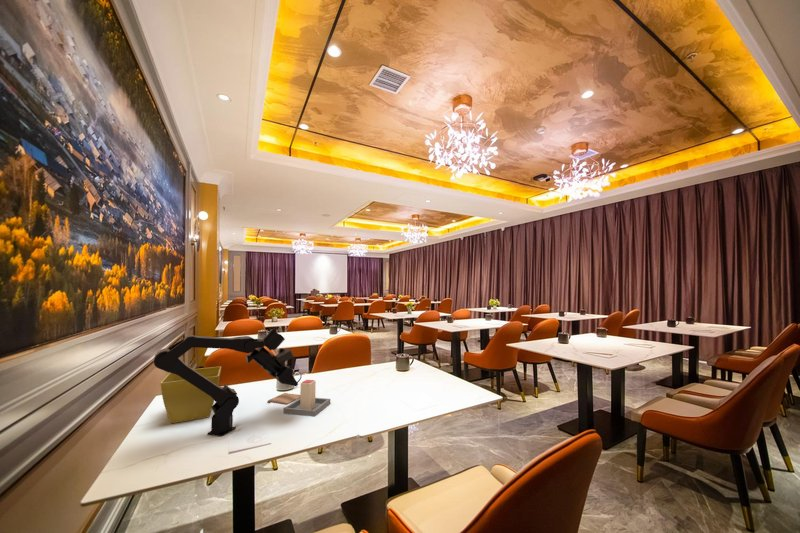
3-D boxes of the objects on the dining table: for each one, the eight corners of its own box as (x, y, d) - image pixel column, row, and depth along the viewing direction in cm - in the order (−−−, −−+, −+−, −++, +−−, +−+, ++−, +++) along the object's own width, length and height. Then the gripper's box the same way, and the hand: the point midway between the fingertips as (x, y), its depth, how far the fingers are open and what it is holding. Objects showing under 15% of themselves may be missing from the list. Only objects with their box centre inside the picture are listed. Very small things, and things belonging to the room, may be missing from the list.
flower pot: (168, 411, 130) (170, 371, 132) (220, 403, 139) (221, 365, 140) (157, 429, 113) (159, 383, 115) (217, 419, 122) (218, 375, 123)
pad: (287, 405, 135) (287, 403, 135) (267, 402, 139) (267, 400, 139) (303, 397, 145) (303, 395, 145) (284, 394, 149) (284, 392, 149)
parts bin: (314, 417, 122) (314, 411, 122) (283, 414, 125) (283, 408, 126) (330, 404, 136) (330, 398, 136) (302, 402, 139) (302, 396, 139)
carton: (309, 410, 128) (310, 383, 129) (300, 409, 129) (300, 382, 130) (315, 406, 132) (315, 379, 133) (305, 405, 133) (306, 379, 134)
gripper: (288, 346, 118) (315, 370, 124) (274, 340, 133) (299, 362, 139) (266, 371, 113) (296, 395, 119) (254, 361, 128) (281, 383, 134)
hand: (293, 382), depth 128 cm, fingers open, 9 cm apart
